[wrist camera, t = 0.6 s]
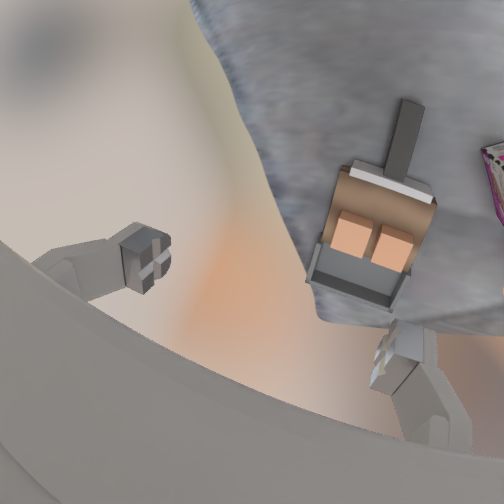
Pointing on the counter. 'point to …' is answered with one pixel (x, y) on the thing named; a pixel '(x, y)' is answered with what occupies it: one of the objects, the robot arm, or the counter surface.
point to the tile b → (392, 248)
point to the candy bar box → (496, 175)
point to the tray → (356, 277)
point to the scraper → (398, 157)
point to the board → (379, 211)
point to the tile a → (352, 234)
